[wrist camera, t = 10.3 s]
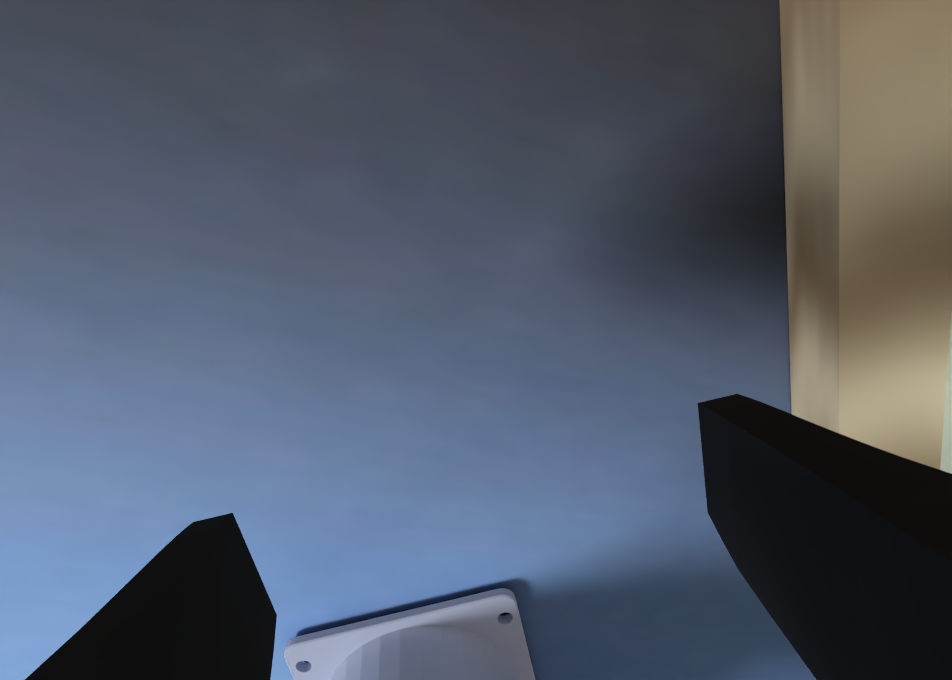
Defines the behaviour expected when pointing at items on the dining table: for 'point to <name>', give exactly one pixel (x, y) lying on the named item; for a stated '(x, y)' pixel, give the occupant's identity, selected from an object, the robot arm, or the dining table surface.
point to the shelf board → (869, 217)
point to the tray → (948, 416)
